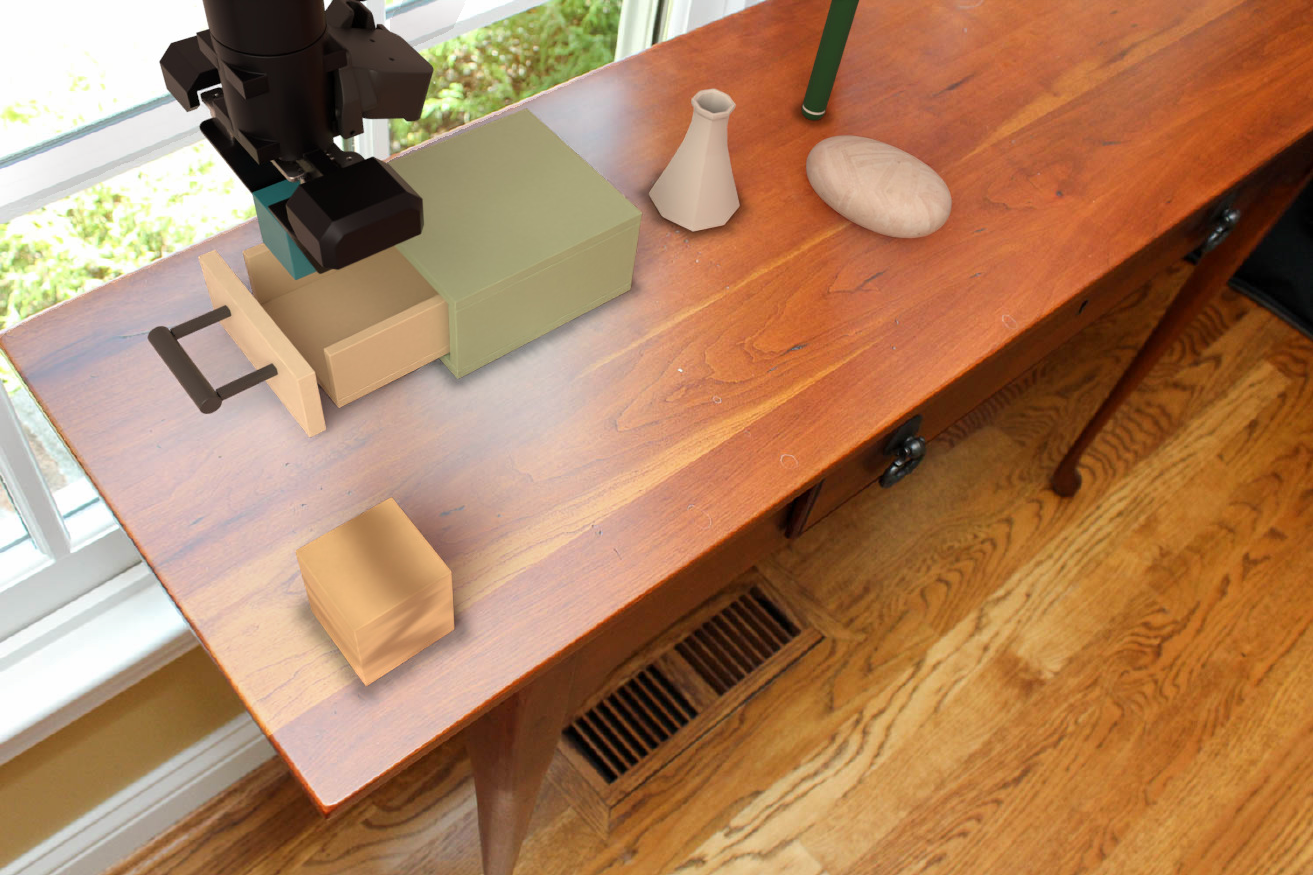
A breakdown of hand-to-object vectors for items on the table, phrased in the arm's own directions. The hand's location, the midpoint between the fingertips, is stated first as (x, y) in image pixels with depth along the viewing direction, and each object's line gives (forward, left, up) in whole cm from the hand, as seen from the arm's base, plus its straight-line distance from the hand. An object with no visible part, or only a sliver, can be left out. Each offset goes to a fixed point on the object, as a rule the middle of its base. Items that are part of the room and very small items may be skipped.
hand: (307, 249), depth 67 cm
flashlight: (+44, +25, -10) cm, 51 cm away
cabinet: (+12, +7, -10) cm, 17 cm away
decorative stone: (+45, +12, -10) cm, 47 cm away
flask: (+30, +14, -10) cm, 34 cm away
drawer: (0, 0, -9) cm, 9 cm away
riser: (+2, -21, -10) cm, 23 cm away
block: (0, 0, 0) cm, 0 cm away
